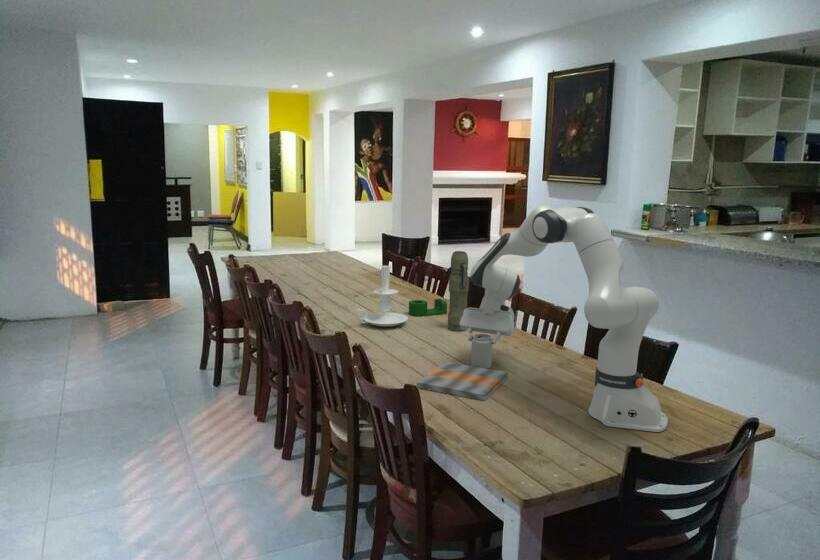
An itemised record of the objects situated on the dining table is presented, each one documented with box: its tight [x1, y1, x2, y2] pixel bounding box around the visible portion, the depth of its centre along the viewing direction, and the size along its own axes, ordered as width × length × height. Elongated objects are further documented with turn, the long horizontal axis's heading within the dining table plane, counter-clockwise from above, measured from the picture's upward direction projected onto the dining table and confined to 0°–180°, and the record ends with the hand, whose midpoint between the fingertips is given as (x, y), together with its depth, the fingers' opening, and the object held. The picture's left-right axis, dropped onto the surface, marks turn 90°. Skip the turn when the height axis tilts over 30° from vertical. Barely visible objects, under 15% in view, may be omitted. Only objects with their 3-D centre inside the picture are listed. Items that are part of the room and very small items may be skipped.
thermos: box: [447, 250, 470, 333], centre depth 275 cm, size 9×12×35 cm
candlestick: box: [356, 264, 409, 328], centre depth 280 cm, size 21×25×28 cm
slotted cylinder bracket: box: [408, 298, 448, 318], centre depth 304 cm, size 18×9×6 cm, turn 113°
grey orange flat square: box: [416, 361, 509, 402], centre depth 212 cm, size 24×24×2 cm
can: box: [470, 333, 493, 369], centre depth 227 cm, size 8×8×12 cm
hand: (481, 341), depth 226 cm, fingers closed on can, 7 cm apart
